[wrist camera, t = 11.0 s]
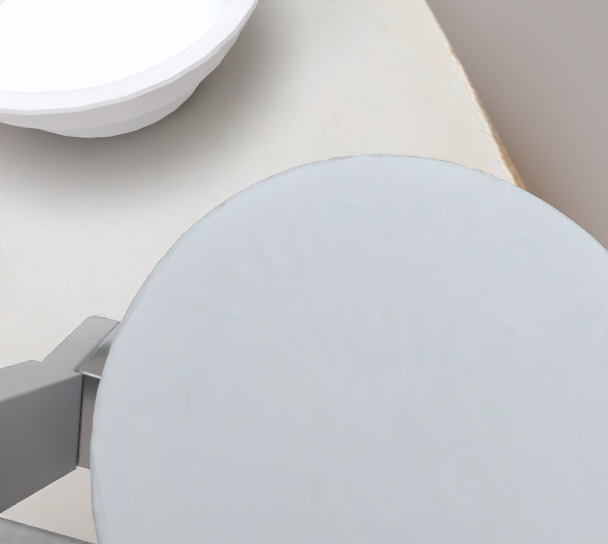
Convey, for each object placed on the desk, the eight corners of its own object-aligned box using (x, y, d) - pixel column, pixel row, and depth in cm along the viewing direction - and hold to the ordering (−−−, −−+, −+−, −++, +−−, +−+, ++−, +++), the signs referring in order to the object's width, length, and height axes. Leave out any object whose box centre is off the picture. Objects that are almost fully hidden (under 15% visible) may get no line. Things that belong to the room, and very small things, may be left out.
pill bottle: (263, 311, 16) (260, 7, 6) (453, 411, 16) (841, 273, 5) (147, 513, 14) (-186, 608, 4) (360, 637, 14) (693, 1188, 3)
